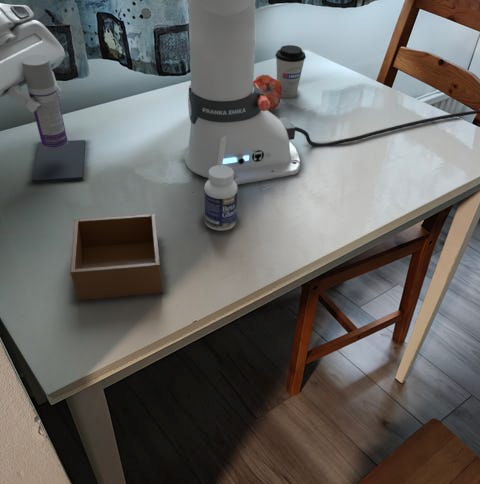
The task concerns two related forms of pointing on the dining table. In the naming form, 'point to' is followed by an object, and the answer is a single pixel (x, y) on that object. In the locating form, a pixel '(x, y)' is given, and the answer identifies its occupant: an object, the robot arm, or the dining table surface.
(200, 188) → the dining table surface
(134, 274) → the wooden tray
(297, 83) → the coffee cup
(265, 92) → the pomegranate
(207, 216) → the pill bottle
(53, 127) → the container
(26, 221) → the dining table surface
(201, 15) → the robot arm
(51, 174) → the pad
